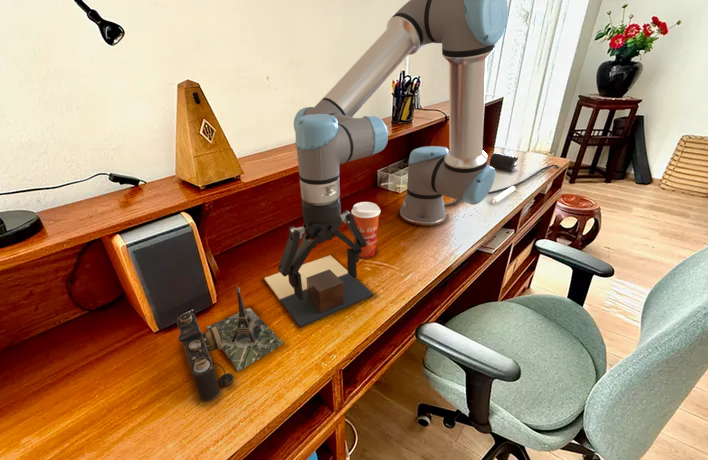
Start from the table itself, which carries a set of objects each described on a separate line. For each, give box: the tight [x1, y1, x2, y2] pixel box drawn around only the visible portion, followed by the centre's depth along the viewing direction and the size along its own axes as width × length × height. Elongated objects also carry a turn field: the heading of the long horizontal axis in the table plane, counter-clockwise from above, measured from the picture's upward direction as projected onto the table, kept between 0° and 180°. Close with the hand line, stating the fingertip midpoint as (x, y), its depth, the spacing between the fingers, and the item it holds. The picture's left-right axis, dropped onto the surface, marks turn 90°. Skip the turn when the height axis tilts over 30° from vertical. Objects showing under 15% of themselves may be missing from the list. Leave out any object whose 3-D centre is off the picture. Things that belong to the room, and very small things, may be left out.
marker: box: [491, 185, 517, 204], centre depth 135 cm, size 18×2×2 cm, turn 136°
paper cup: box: [350, 201, 381, 258], centre depth 99 cm, size 8×8×14 cm
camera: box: [176, 312, 235, 403], centre depth 66 cm, size 16×7×8 cm, turn 33°
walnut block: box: [306, 269, 344, 313], centre depth 81 cm, size 6×6×6 cm
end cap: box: [489, 152, 519, 173], centre depth 161 cm, size 10×7×7 cm
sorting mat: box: [263, 254, 374, 329], centre depth 88 cm, size 19×20×1 cm
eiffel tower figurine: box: [206, 285, 285, 373], centre depth 70 cm, size 15×10×13 cm
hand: (326, 285), depth 81 cm, fingers open, 13 cm apart
